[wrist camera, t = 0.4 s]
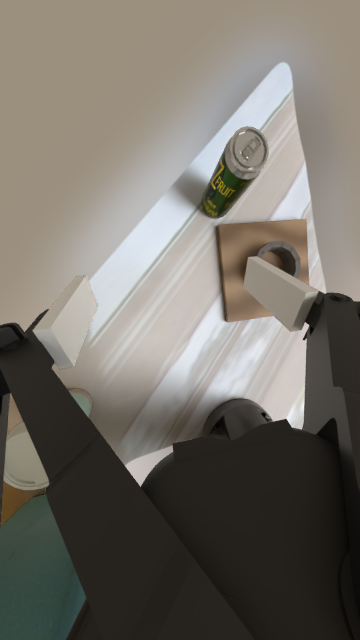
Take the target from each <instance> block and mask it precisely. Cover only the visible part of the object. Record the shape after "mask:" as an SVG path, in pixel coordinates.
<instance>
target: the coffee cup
mask: <svg viewBox="0 0 360 640" xmlns="http://www.w3.org/2000/svg"><path fill="white" fill-rule="evenodd" d="M68 391H69V392H70V394H71V395H72V396H73V398H74V399H75V400H76V402H77V403H78V404H79V406H80V407H81V408H82V410H83V411H84V412H85V414H86V415H87V416H88V418H89V415H90V413H91V410H92V407H93V400H92V397H91V395H90V394H89V393H88V392H86V391H85V390H82V389H71V390H68ZM4 481H5V482H6V483H7V484H9V485H10V486H12V487H14V488H17V489H21V490H37V489H41V488H44V487H47V486H48V485H49V480H48V477H47V475H46V472H45V470H44V468H43V465H42V463H41V461H40V458H39V456H38V454H37V452H36V449H35V447H34V445H33V442H32V440H31V438H30V435H29V433H28V431H27V428H26V426H25V424H24V422H23V421H22V422H21V423H19V424H18V425H16V426H15V427H14V428H13V429H12V430H11V432H10V433H9V434H8V435H7V439H6V452H5V466H4Z"/></svg>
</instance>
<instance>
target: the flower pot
mask: <svg viewBox="0 0 360 640" xmlns="http://www.w3.org/2000/svg"><path fill="white" fill-rule="evenodd" d="M85 599H86V596H85V593H84V591H83V588H82V586H81V583H80V581H79V578H78V576H77V573H76V571H75V568H74V566H73V563H72V561H71V558H70V556H69V553H68V551H67V548H66V546H65V543H64V541H63V538H62V536H61V533H60V531H59V528H58V526H57V523H56V521H55V518H54V516H53V513H52V511H51V508H50V505H49V503H48V499H47V496H46V494H44V495H41V496H37V497H34V498H32V499H30V500H29V501H28V502H27V503H26V504H24V505H23V506H22V507H21V508H20V509H19V510H18V511H17V512H15V513H14V514H13V515H12V516H11V517H10V518H9V519H8V520H7V521H6V522H5V523H4V524H3V525H2V526H1V527H0V640H66V638H67V636H68V634H69V632H70V630H71V628H72V626H73V624H74V622H75V620H76V618H77V616H78V614H79V612H80V610H81V608H82V606H83V604H84V601H85Z"/></svg>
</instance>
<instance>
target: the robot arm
mask: <svg viewBox="0 0 360 640" xmlns="http://www.w3.org/2000/svg"><path fill="white" fill-rule="evenodd" d="M243 288H244V289H246V290H247V291H248V292H249V293H250V294H251V295H252V296H253V297H254V298H255V299H256V300H257V301H258V302H259V303H260V304H261V305H263V306H264V307H265V308H266V309H267V310H268V311H269V312H270V313H271V314H272V315H273V316H274V317H275V318H276V319H277V320H278V321H280V322H281V323H282V324H283V325H284V326H285V327H286V328H287V329H288V330H289V331H290V332H292V331H298V330H302V327H303V325H304V323H305V322H306V323H307V324H308V325H310V326H309V328H308V330H307V332H306V334H305V336H304V338H303V340H305V339H306V338H307V349H306V377H305V405H304V424H303V428H302V430H301V429H296V428H292V427H291V426H290V424H289V422H288V421H287V419H284V420H279V421H275V422H273V420H272V419H271V417H270V416H269V414H268V413H267V412H266V411H265V410H264V409H263V408H262V407H261V406H259V405H258V404H257V403H255V402H253V401H250V400H246V399H236V400H231V401H228V402H226V403H224V404H222V405H220V406H219V407H218V408H216V409H215V410H214V411H213V412H212V414H211V415H210V416H209V418H208V419H207V421H206V423H205V426H204V429H203V437H201V438H197V439H192V440H188V441H183V442H178V443H174V444H173V453H171V454H169V455H168V456H166V457H165V458H164V459H163V460H161V461H160V462H159V463H158V464H157V465H156V466H155V467H154V468H153V470H152V471H151V472H150V473H149V474H148V476H147V477H146V479H145V481H144V482H143V484H142V486H141V487H140V486H139V484H138V483H137V482H136V480H135V479H134V478H133V476H132V475H131V474H130V472H129V471H128V470H127V468H126V467H125V466H124V464H123V463H122V462H121V460H120V459H119V458H118V456H117V455H116V454H115V452H114V451H113V450H112V448H111V447H110V446H109V444H108V443H107V442H106V440H105V439H104V438H103V436H102V435H101V434H100V432H99V431H98V430H97V428H96V427H95V426H94V424H93V423H92V422H91V420H90V419H89V418H88V416H87V415H86V414H85V412H84V411H83V410H82V408H81V407H80V406H79V404H78V403H77V402H76V400H75V399H74V398H73V396H72V395H71V394H70V392H69V391H68V390H67V388H66V387H65V386H64V384H63V383H62V382H61V380H60V379H59V378H58V376H57V375H56V374H55V372H54V371H53V370H52V366H53V364H54V362H55V364H56V365H57V366H58V368H59V369H63V368H69V367H74V365H75V363H76V360H77V358H78V355H79V353H80V350H81V348H82V345H83V343H84V340H85V338H86V335H87V332H88V330H89V327H90V325H91V322H92V320H93V317H94V315H95V312H96V310H97V307H98V305H97V302H96V299H95V297H94V294H93V291H92V289H91V286H90V284H89V281H88V278H87V276H86V275H83V276H76V277H75V278H74V279H73V280H72V282H71V283H70V284H69V285H68V287H67V288H66V289H65V291H64V292H63V293H62V294H61V295H60V297H59V298H58V299H57V300H56V302H55V303H54V304H53V306H52V307H51V308H50V309H47V310H46V311H44V312H43V313H41V314H40V315H39V316H38V317H37V318H36V320H35V321H34V322H33V323H32V325H30V327H29V328H28V329H27V330H26V331H25V332H24V331H23V330H22V328H21V327H20V326H19V324H17V323H7V324H3V325H0V521H1V508H2V494H3V480H4V466H5V452H6V439H7V425H8V411H9V397H10V393H11V394H12V396H13V398H14V401H15V403H16V405H17V408H18V410H19V412H20V415H21V417H22V419H23V422H24V424H25V426H26V428H27V431H28V433H29V435H30V438H31V440H32V442H33V445H34V447H35V449H36V452H37V454H38V456H39V458H40V461H41V463H42V465H43V468H44V470H45V472H46V475H47V477H48V480H49V485H48V487H47V488H46V496H47V499H48V503H49V505H50V508H51V511H52V513H53V516H54V518H55V521H56V523H57V526H58V528H59V531H60V533H61V536H62V538H63V541H64V543H65V546H66V548H67V551H68V553H69V556H70V558H71V561H72V563H73V566H74V568H75V571H76V573H77V576H78V578H79V581H80V583H81V586H82V588H83V591H84V593H85V596H86V599H85V601H84V604H83V606H82V608H81V610H80V612H79V614H78V616H77V618H76V620H75V622H74V624H73V626H72V628H71V630H70V632H69V634H68V636H67V638H66V640H360V302H356V301H355V302H354V301H353V300H352V299H351V298H350V297H348V296H345V295H343V294H340V293H326V294H324V293H322V292H320V291H318V290H317V289H315V288H313V287H311V286H309V285H308V284H306V283H304V282H302V281H300V280H298V279H297V278H295V277H293V276H291V275H289V274H288V273H286V272H284V271H282V270H280V269H279V268H277V267H275V266H273V265H271V264H270V263H268V262H266V261H264V260H262V259H261V258H259V257H257V256H255V257H248V261H247V267H246V273H245V278H244V284H243Z"/></svg>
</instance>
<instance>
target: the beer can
mask: <svg viewBox="0 0 360 640" xmlns="http://www.w3.org/2000/svg"><path fill="white" fill-rule="evenodd" d="M267 158H268V144H267V140H266V139H265V137H264V135H263V134H262V133H261V132H260V131H259V130H258V129H256V128H253V127H247V126H246V127H243V128H240V129H239V130H237V131H236V132H235V134H234V135H233V137H231V138H230V140H229V141H228V143H227V145H226V147H225V149H224V151H223V153H222V155H221V158H220V160H219V162H218V164H217V166H216V168H215V171H214V173H213V175H212V177H211V179H210V181H209V184H208V186H207V188H206V190H205V192H204V194H203V198H202V206H203V209H204V211H205V213H206V214H207V215H208V216H209V217H212V218H220V217H223V216H224V215H226V214H227V213H228V211H229V210H230V209H231V208H232V207H233V205H234V204H235V203H236V202H237V200H238V199H239V198H240V197H241V196H242V194H243V193H244V192H245V191H246V190H247V188H248V187H249V186H250V185H251V183H252V182H253V181H254V180H255V179H256V177H257V176H258V175H259V174H260V172H261V171H262V169H263V167H264V164H265V163H266V161H267Z"/></svg>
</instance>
